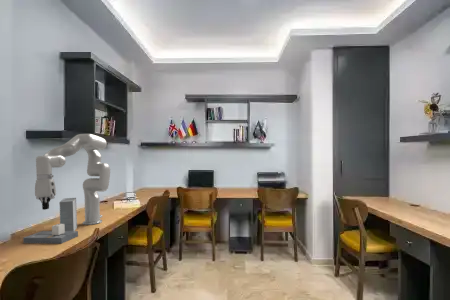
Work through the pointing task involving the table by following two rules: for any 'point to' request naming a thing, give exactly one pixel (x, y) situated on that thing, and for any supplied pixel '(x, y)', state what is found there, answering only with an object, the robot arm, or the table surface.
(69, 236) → the platform
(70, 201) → the hard drive box
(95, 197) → the robot arm
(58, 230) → the fader knob
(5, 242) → the table surface
